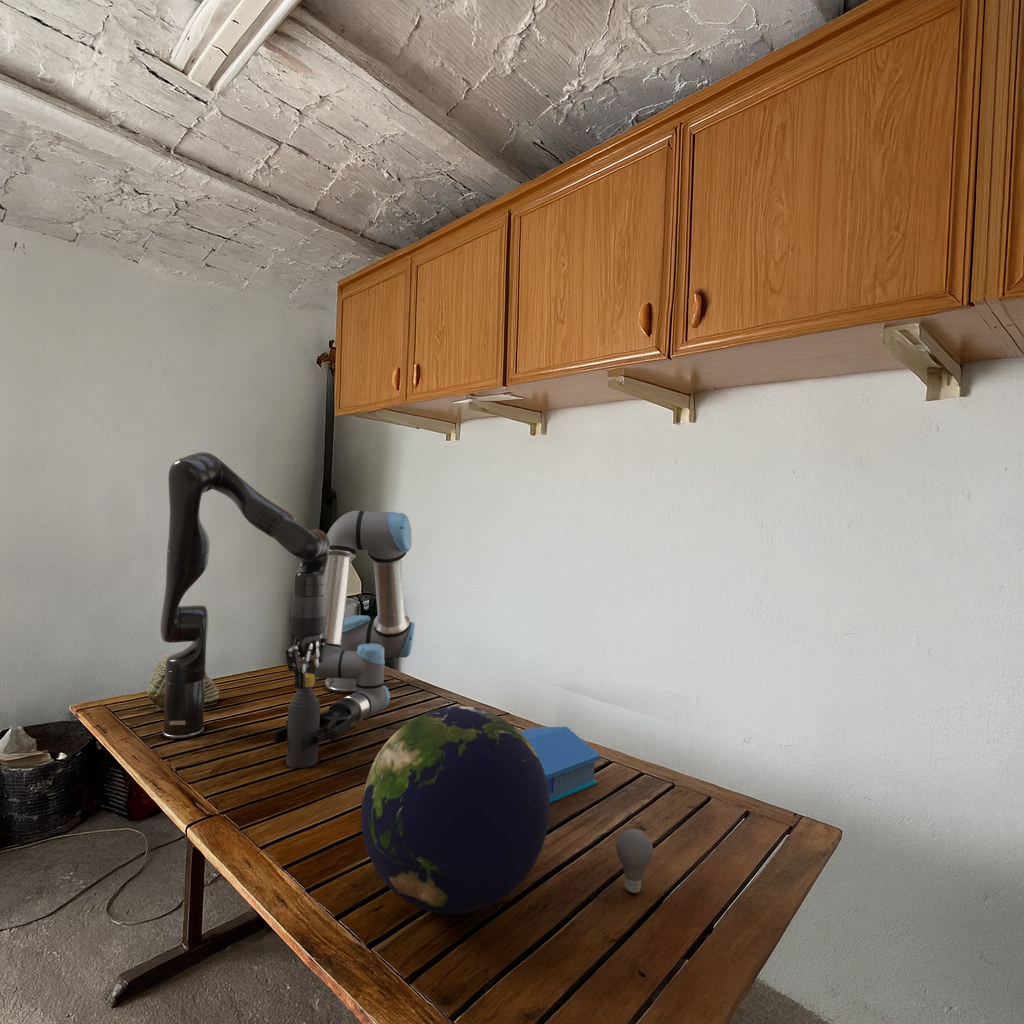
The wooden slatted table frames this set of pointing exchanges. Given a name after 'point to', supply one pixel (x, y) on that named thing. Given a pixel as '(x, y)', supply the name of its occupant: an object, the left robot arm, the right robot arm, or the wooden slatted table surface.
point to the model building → (563, 759)
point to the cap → (309, 679)
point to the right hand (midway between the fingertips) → (288, 741)
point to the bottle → (302, 728)
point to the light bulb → (634, 857)
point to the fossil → (158, 687)
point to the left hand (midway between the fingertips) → (305, 684)
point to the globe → (455, 810)
